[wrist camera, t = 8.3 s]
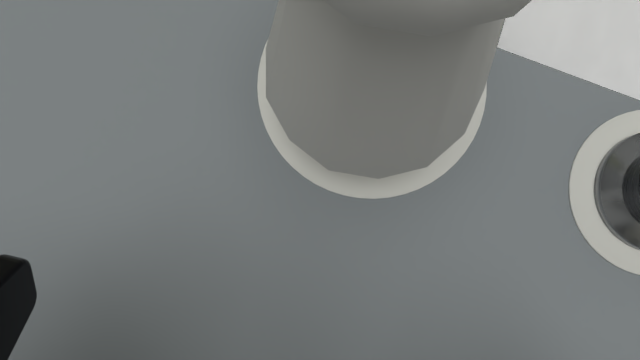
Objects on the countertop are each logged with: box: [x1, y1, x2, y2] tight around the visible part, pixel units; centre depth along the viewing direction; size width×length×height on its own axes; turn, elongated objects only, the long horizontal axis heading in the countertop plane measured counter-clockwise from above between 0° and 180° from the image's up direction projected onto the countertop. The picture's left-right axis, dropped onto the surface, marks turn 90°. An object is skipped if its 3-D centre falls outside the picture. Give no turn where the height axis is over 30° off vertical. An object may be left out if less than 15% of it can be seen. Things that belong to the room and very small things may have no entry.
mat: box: [0, 0, 640, 360], centre depth 18 cm, size 17×25×1 cm
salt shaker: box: [266, 0, 531, 179], centre depth 12 cm, size 6×6×13 cm
